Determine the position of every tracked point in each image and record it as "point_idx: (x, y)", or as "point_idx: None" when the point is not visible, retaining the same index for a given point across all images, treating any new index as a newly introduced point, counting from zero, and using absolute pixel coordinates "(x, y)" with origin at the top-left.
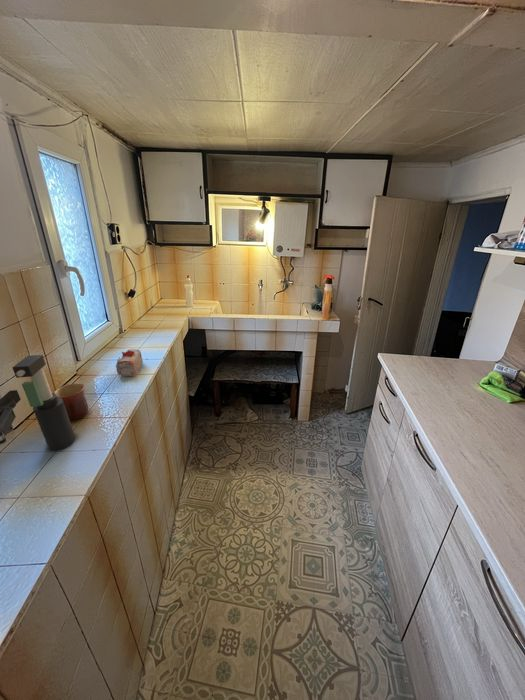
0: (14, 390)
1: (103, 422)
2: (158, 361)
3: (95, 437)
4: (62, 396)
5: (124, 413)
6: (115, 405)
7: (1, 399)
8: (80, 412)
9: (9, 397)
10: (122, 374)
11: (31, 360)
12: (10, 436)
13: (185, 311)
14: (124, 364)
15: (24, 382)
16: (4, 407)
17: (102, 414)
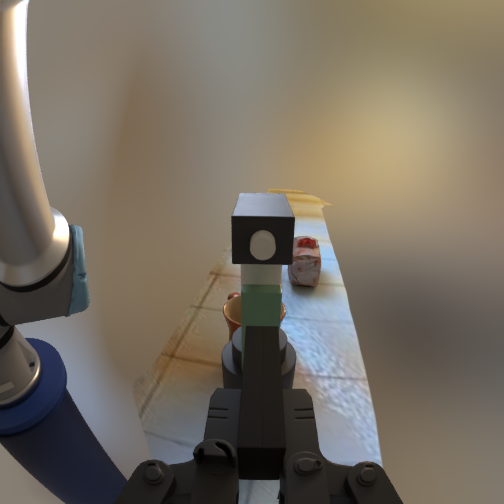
0: (268, 327)
1: (322, 389)
2: (336, 263)
3: (329, 429)
4: (233, 320)
5: (354, 369)
6: (321, 347)
7: (251, 386)
8: None
9: (280, 373)
10: (297, 281)
11: (274, 203)
12: (139, 388)
13: (314, 198)
14: (307, 262)
15: (244, 285)
16: (321, 461)
17: (307, 367)
